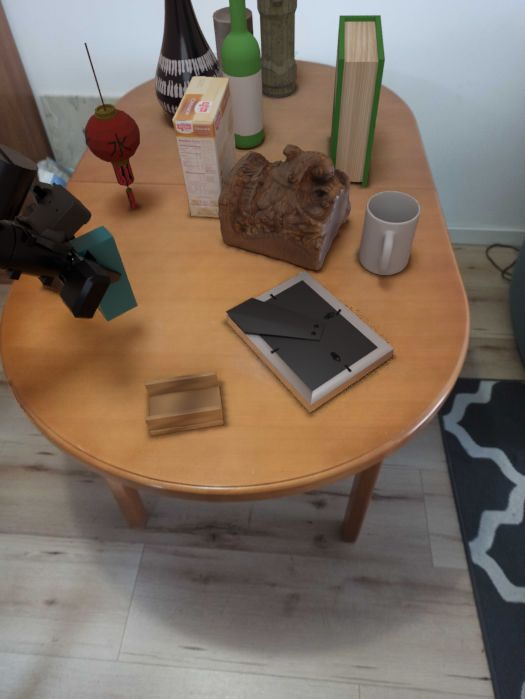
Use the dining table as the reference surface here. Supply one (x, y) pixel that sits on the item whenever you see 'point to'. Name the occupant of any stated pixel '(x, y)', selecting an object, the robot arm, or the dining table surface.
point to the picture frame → (308, 339)
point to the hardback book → (356, 94)
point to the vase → (181, 55)
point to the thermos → (278, 47)
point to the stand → (184, 403)
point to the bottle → (243, 78)
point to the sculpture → (285, 206)
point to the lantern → (113, 140)
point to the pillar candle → (226, 27)
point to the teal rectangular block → (107, 255)
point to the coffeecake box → (205, 141)
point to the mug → (388, 232)
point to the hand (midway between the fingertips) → (114, 270)
